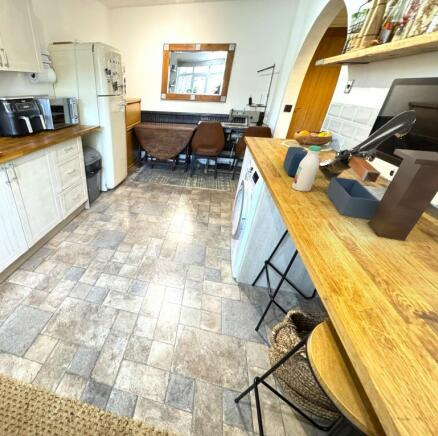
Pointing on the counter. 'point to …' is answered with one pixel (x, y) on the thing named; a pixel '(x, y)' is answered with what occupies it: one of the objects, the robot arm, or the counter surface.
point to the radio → (294, 159)
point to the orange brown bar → (364, 169)
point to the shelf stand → (406, 195)
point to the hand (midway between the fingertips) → (366, 150)
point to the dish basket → (352, 198)
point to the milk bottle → (307, 170)
